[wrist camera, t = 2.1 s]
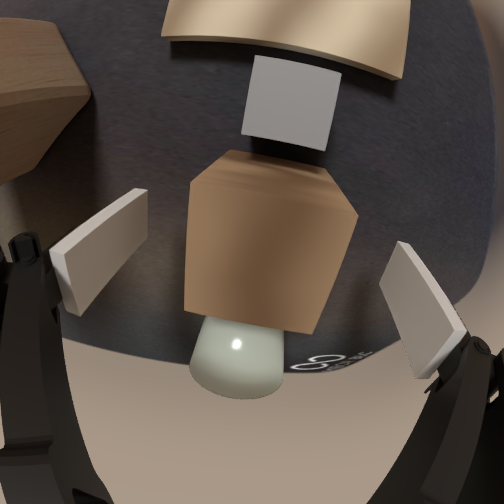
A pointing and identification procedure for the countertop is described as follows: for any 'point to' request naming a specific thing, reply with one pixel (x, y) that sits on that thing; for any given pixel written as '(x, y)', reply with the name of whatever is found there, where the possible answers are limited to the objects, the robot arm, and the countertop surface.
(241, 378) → the pale green rounded cylinder
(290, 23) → the board
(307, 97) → the slate cube
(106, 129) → the countertop surface
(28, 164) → the block
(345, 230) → the walnut block
